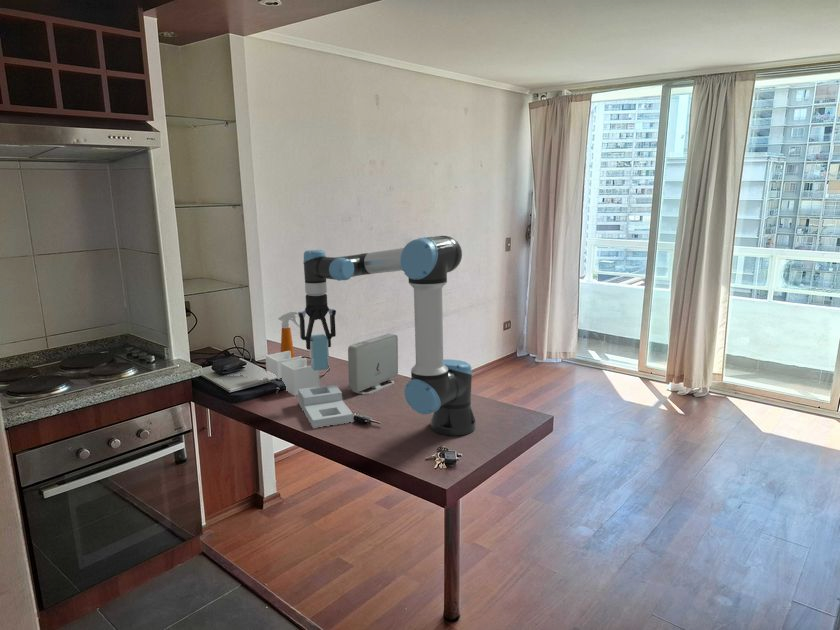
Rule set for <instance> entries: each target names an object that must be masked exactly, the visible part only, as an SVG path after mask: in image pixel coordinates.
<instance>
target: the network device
mask: <svg viewBox="0 0 840 630" xmlns="http://www.w3.org/2000/svg"><path fill="white" fill-rule="evenodd" d="M398 340H399V339H398V335H397V334H395V333H394V334H392V333H386V334H383V335H379V336H375V337H372V338H369V339H366V340H363V341H359V342H357V343H352V344H350V345H348V349H347V363H348V364H347V365H348V367H347V368H348V388H349V390H351V391H352V392H353V393H355V394H359V395H361V394H362V396H367V395H368V396H369V395H372V394H375V393H377V392H379V391H381V389H382V390H384V389H387V388H389V387H391V386H393V385H392V384H395V381H394V380H392V379H394V378H396V377H397V376H398V374H399V356H398V355H399V349H398V347H399V346H398V345H399V343H398V342H399V341H398ZM386 381H388V382H387V383H388V384H386V385H381V383H384V382H386ZM390 382H392V383H390ZM390 385H391V386H390ZM388 386H389V387H388ZM370 387H371V388H370ZM386 387H387V388H386ZM369 388H370V389H372V390H370V391H368V392H364V391H363V390H366V389H369ZM373 388H374V389H373ZM383 388H384V389H383ZM376 391H377V392H376ZM374 392H375V393H374Z"/></svg>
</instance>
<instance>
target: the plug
mask: <svg viewBox="0 0 840 630" xmlns="http://www.w3.org/2000/svg"><path fill="white" fill-rule="evenodd" d="M311 340H312V344H313V359H311V358H310V362H311V363H310V364H311V365H310V366H311V367H312V368H313V370H314V371H317V370H319V371H323V370H329V360H328V358H329V357H328V355H327V337H326V334H325V333H319V334H311Z"/></svg>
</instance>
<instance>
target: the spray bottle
mask: <svg viewBox="0 0 840 630" xmlns="http://www.w3.org/2000/svg"><path fill="white" fill-rule="evenodd" d="M298 312H299V311H298V310H293V311H289V312H286V313H285V314H282V315H281V316H279V317H278V320H279V321H281V322H282V323H281V334H280V335H281V337H280V352H285V351H291V358H295V352H294V346H293V338H292V332H291V324H290V321H292V323H294V325H296V326H297V327H298V328H300V322H299V321H298V319H297V315H298Z"/></svg>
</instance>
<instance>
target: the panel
mask: <svg viewBox="0 0 840 630" xmlns="http://www.w3.org/2000/svg"><path fill="white" fill-rule="evenodd" d="M297 396H298V404H299V407H300V406H301V407H300V408H302V409H301V410H302V412H303V411H304V412H303V413H305V414H304V415H305V417H306V419H307V418H308V419H307V421H308V422H309V424H310V423H311V424H310V425H311V427H312V429H313V428H314V429H319V428H318V427H321V428H324V427H323V426H327V427H331V426H330V425H333V426H338V424H339V425H345V424H349V422H351V423H354V413H353V411H352V410H351V409H350V408H349V407H348V405H347V404H346V403H345V402H344V400H343V392H342V391H341V390H340V388H339V387H338V386H337V385H336V383H335V384H327V385H320V386H317V387H310V388H303V389H298V395H297ZM344 423H345V424H344Z"/></svg>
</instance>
